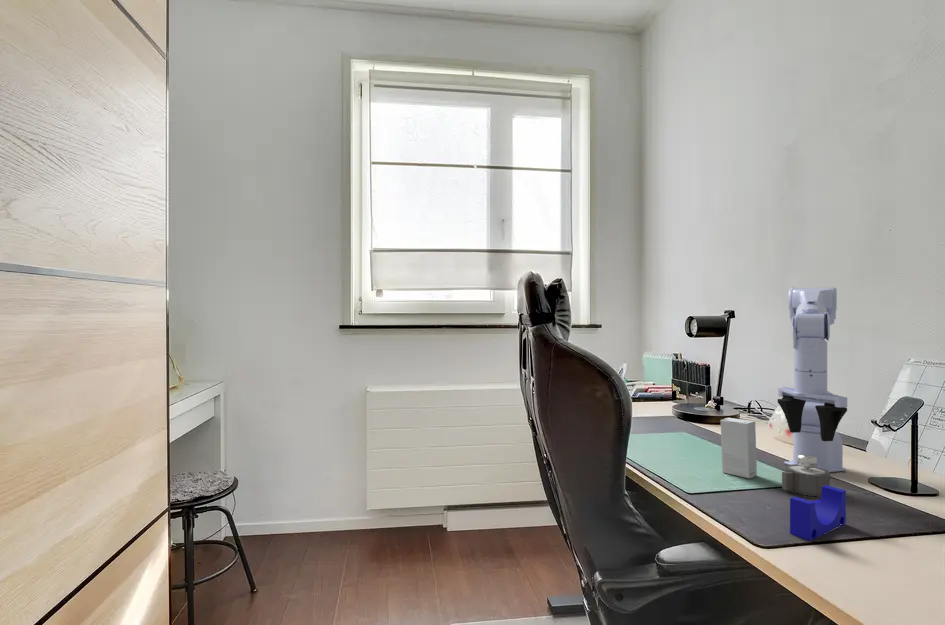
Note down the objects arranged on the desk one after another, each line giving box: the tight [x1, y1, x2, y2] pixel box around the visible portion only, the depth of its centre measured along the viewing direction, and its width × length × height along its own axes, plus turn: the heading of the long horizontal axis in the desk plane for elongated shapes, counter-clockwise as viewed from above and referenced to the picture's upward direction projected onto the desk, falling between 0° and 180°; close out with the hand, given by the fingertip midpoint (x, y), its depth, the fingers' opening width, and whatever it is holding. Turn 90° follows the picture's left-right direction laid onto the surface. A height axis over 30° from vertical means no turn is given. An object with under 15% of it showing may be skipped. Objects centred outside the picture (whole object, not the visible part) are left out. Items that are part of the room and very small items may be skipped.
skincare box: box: [720, 417, 758, 479], centre depth 112 cm, size 6×4×12 cm
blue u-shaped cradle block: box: [789, 485, 847, 542], centre depth 85 cm, size 12×4×6 cm, turn 121°
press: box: [781, 464, 831, 498], centre depth 102 cm, size 9×7×4 cm
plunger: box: [798, 454, 817, 471], centre depth 102 cm, size 3×3×6 cm
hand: (810, 436), depth 104 cm, fingers open, 7 cm apart
